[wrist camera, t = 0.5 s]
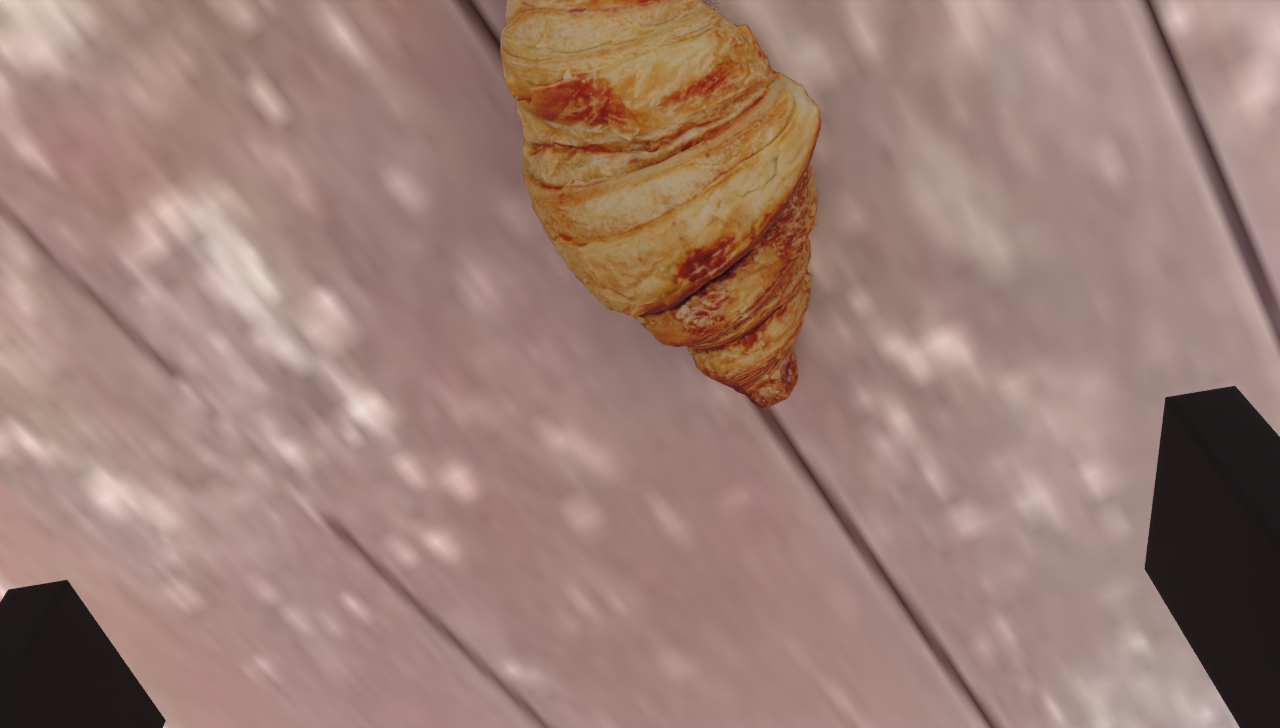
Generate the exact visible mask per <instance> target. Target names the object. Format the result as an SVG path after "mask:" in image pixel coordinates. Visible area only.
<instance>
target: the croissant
mask: <svg viewBox="0 0 1280 728" xmlns="http://www.w3.org/2000/svg"><path fill="white" fill-rule="evenodd" d="M505 20H506V24H505V26H504V28H503V30H502V31H501V58H502V64H503V71H504V77H505V80H506V83H507V87H508V88H509V91H510V93H511V94H512V95H513V96H514V98H515V99H516V102H517V105H518V108H517V113H518V114H519V116H520V118H521V120H522V127H523V134H524V142H525V143H524V147H523V151H522V154H523V155H524V164H523V173H524V178H525V182H526V186H527V188H528V191H529V193H530V196H531V198H532V201H533V203H532V207H533V209H534V211H535V213H536V215H537V216H538V218H539V220H540V222H541V224H542V226H543V228H544V230H545V232H546V234H547V236H548V237H549V239H550V240H551V242H552V243H553V244H554V246H555V247H556V249H557V252H558V253H559V254H560V255H561V256H562V257H563V259H564V261H565V262H566V264H567V266H568V267H569V269H570V270H571V271H572V272H573V273H574V275H575V276H576V277H577V278H578V279H579V280H580V281H581V282H582V283H583V284H584V285H585V286H586V287H587V288H588V289H589V291H590V292H591V293H593V294H594V295H595V296H596V297H597V298H598V300H599V301H600V302H601V303H603V304H604V305H605V306H606V307H607V308H609V309H610V310H615V311H617V312H621V313H624V314H627V315H630V316H632V317H634V318H635V319H636V320H638V321H639V322H640V323H641V324H642V325H643V326H644V327H645V328H646V329H647V330H649V331H650V332H651V333H652V334H653V335H654V336H655V338H656V339H657V340H658V341H660V342H661V343H662V344H665V345H669V346H675V347H680V346H688V350H689V352H690V353H691V355H692V357H693V359H694V361H695V364H696V367H697V368H698V369H699V370H700V371H701V372H702V373H704V374H705V375H706V376H708V377H710V378H711V379H713V380H716V381H718V382H720V383H722V384H724V385H727V386H729V387H731V388H733V389H734V390H735V391H737V392H739V393H742V394H745V395H746V396H747V397H748V398H749V399H750V400H751V401H752V402H753V403H754V404H756V405H757V406H759V407H760V408H769V407H771V406H772V405H774V404H777V403H779V402H781V401H783V400H785V399H787V398H788V397H789V395H790V394H791V392H792V390H793V388H794V386H795V385H796V382H797V379H798V371H797V363H796V356H795V354H794V351H793V348H792V346H791V344H792V343H793V342H794V339H795V337H796V336H797V334H798V333H799V332H800V329H801V325H802V321H803V316H804V314H805V311H806V309H807V306H808V301H809V296H810V284H811V281H812V277H813V276H812V275H811V274H810V273H809V272H808V270H807V267H808V264H809V260H810V257H811V253H810V241H809V238H808V235H809V232H810V231H812V229H813V228H814V227H815V226H816V212H817V194H816V186H815V181H814V175H813V169H812V166H811V164H810V163H809V162H810V160H811V157H812V154H813V151H814V148H815V145H816V142H817V139H818V135H819V131H820V127H821V119H820V110H819V107H818V105H817V104H816V103H815V102H814V101H813V100H812V99H811V98H810V97H809V95H808V94H807V92H806V91H805V89H804V87H803V86H802V85H800V84H798V83H796V82H795V81H793V80H791V79H789V78H788V77H786V76H785V75H783V74H780V73H777V72H773V71H772V70H771V67H770V64H769V60H768V57H767V55H766V54H765V53H764V51H763V50H762V49H761V47H760V46H759V44H758V42H757V41H756V39H755V37H754V36H753V34H752V32H751V31H750V29H749V27H748V26H747V25H741V26H735V25H733V24H732V23H730V22H729V21H728V20H727V19H725V18H724V17H723V16H721V15H718V13H717V12H716V10H714V9H712V8H710V7H708V6H707V5H706V4H705V3H704V2H702V1H701V0H507V7H506V11H505Z"/></svg>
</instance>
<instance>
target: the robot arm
mask: <svg viewBox="0 0 1280 728" xmlns="http://www.w3.org/2000/svg"><path fill="white" fill-rule="evenodd" d="M1145 570H1146V572H1147V574H1148V575H1149V577H1150V579H1151V580H1152V582H1153V584H1154V585H1155V587H1156V589H1157V590H1158V592H1159V594H1160V595H1161V597H1162V599H1163V600H1164V602H1165V604H1166V605H1167V607H1168V609H1169V610H1170V612H1171V614H1172V615H1173V617H1174V619H1175V620H1176V622H1177V624H1178V625H1179V627H1180V629H1181V630H1182V632H1183V634H1184V635H1185V637H1186V639H1187V640H1188V642H1189V644H1190V645H1191V647H1192V649H1193V650H1194V652H1195V654H1196V655H1197V657H1198V659H1199V660H1200V662H1201V664H1202V665H1203V667H1204V669H1205V670H1206V672H1207V674H1208V675H1209V677H1210V679H1211V680H1212V682H1213V684H1214V685H1215V687H1216V689H1217V690H1218V692H1219V694H1220V695H1221V697H1222V699H1223V700H1224V702H1225V703H1226V705H1227V707H1228V708H1229V710H1230V712H1231V713H1232V715H1233V717H1234V718H1235V720H1236V722H1237V723H1238V725H1239V727H1240V728H1280V437H1279V436H1278V434H1277V433H1276V432H1275V431H1274V430H1273V429H1272V428H1271V426H1270V425H1269V424H1268V423H1267V422H1266V421H1265V420H1264V418H1263V417H1262V416H1261V415H1260V414H1259V413H1258V412H1257V410H1256V409H1255V408H1254V407H1253V406H1252V405H1251V404H1250V402H1249V401H1248V400H1247V399H1246V398H1245V397H1244V396H1243V394H1242V393H1241V392H1240V391H1239V390H1238V389H1237V388H1236V386H1232V387H1226V388H1219V389H1213V390H1207V391H1201V392H1195V393H1189V394H1183V395H1177V396H1171V397H1166V398H1165V406H1164V414H1163V422H1162V431H1161V439H1160V447H1159V455H1158V463H1157V472H1156V480H1155V488H1154V496H1153V504H1152V513H1151V521H1150V529H1149V537H1148V545H1147V554H1146V562H1145ZM165 721H166V720H165V719H164V717H163V716H162V715H161V713H160V712H159V710H158V709H157V707H156V706H155V705H154V703H153V702H152V700H151V699H150V697H149V696H148V695H147V693H146V692H145V690H144V689H143V687H142V686H141V685H140V683H139V682H138V680H137V679H136V677H135V676H134V675H133V673H132V672H131V670H130V669H129V667H128V666H127V665H126V663H125V662H124V660H123V659H122V657H121V656H120V655H119V653H118V652H117V650H116V649H115V647H114V646H113V645H112V643H111V642H110V640H109V639H108V637H107V636H106V635H105V633H104V632H103V630H102V629H101V627H100V626H99V625H98V623H97V622H96V620H95V619H94V617H93V616H92V615H91V613H90V612H89V610H88V609H87V607H86V606H85V605H84V603H83V602H82V600H81V599H80V597H79V596H78V595H77V593H76V592H75V590H74V589H73V587H72V586H71V585H70V583H69V582H68V580H64V581H58V582H52V583H46V584H40V585H34V586H28V587H22V588H16V589H10V590H8V591H7V592H6V594H5V596H4V597H3V599H2V601H1V602H0V728H163V726H164V723H165Z"/></svg>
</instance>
